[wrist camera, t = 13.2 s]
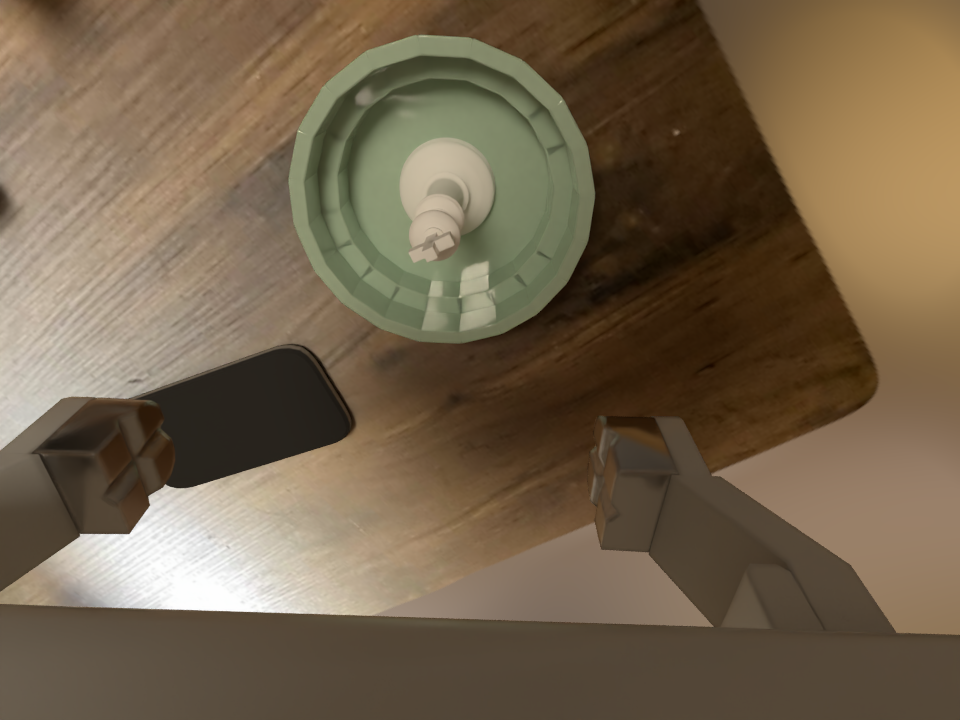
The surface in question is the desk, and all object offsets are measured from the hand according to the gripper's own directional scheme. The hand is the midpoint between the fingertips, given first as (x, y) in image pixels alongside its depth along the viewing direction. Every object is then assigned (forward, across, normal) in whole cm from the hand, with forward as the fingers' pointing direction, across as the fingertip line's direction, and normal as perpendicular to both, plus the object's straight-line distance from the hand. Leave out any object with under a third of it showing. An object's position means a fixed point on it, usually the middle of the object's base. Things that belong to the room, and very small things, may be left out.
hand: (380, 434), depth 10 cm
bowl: (+21, 0, 0) cm, 21 cm away
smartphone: (+21, +14, +16) cm, 30 cm away
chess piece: (+20, 0, 0) cm, 21 cm away
